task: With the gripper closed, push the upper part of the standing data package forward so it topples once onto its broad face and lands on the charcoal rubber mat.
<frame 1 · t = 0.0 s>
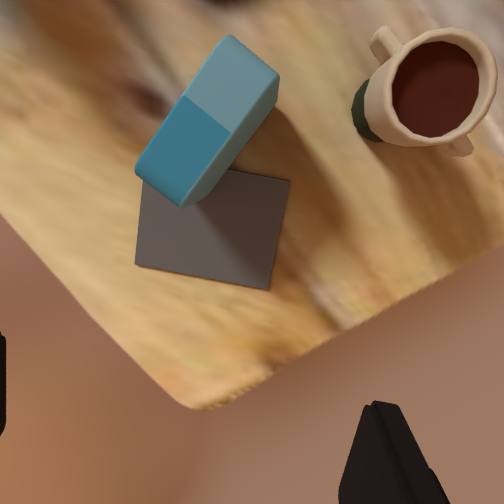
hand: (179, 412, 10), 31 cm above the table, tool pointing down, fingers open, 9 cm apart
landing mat: (209, 223, 40), on the table
character mug: (382, 109, 36), on the table
data package: (223, 137, 38), on the table, touching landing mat
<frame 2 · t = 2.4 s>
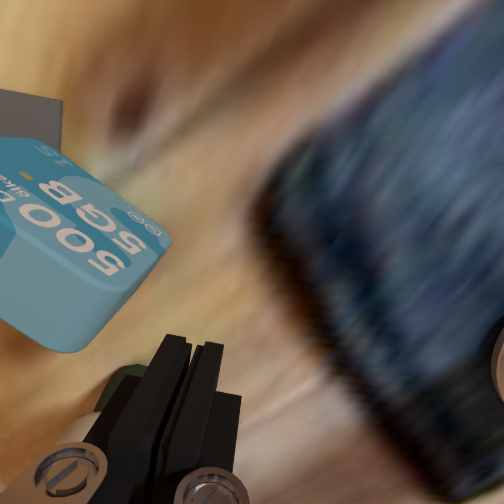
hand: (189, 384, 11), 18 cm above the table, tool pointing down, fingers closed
character mug: (146, 390, 33), on the table
data package: (96, 212, 28), on the table, touching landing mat
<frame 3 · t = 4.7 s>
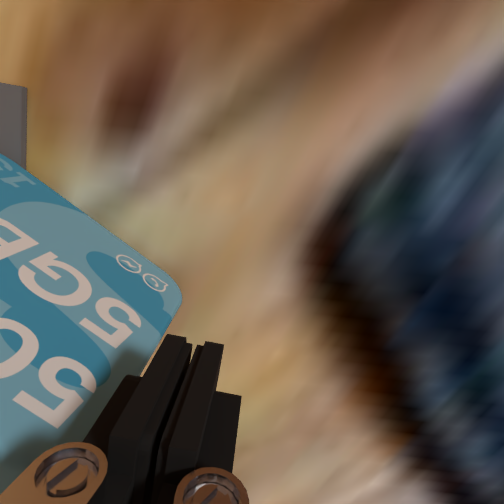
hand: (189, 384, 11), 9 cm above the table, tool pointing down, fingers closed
data package: (72, 250, 19), on the table, touching gripper
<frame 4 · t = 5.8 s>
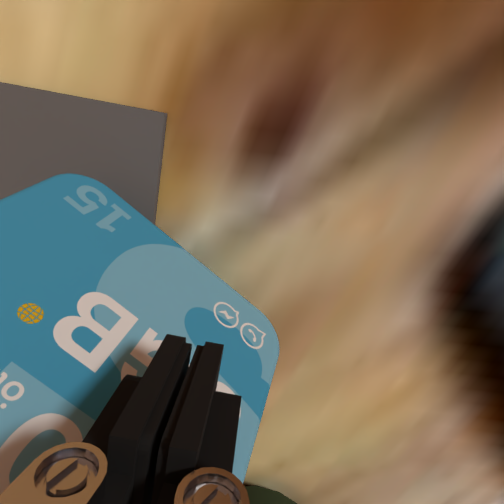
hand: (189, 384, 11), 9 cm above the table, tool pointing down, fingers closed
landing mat: (35, 244, 19), on the table
data package: (167, 275, 18), point 1 cm above the table, touching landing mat
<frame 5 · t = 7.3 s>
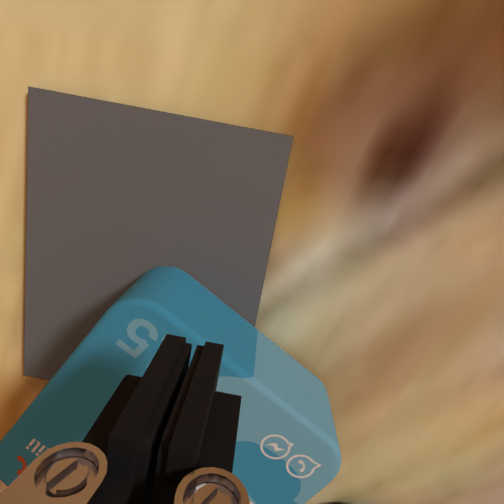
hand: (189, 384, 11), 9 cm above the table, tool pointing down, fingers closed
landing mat: (146, 266, 19), on the table
data package: (255, 345, 17), point 3 cm above the table, touching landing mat
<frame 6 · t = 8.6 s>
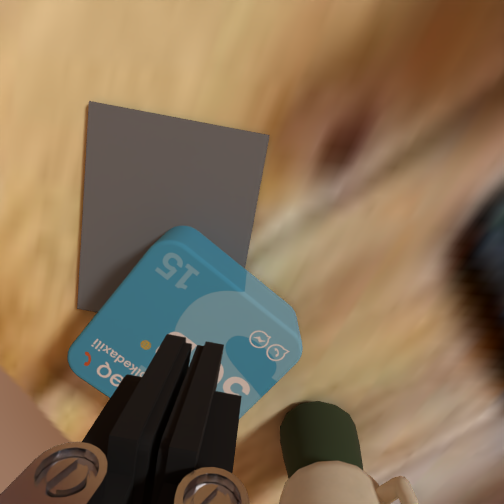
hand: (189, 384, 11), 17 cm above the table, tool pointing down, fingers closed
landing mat: (168, 226, 27), on the table
character mug: (316, 425, 32), on the table
data package: (245, 276, 25), point 3 cm above the table, touching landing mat
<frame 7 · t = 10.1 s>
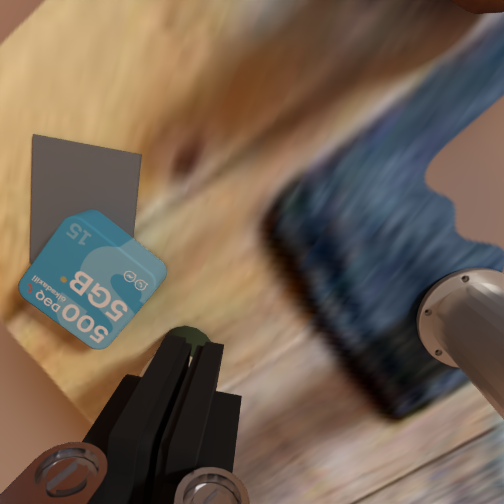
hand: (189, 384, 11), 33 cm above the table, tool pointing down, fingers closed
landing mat: (84, 210, 44), on the table
character mug: (189, 344, 48), on the table
data package: (126, 240, 41), point 3 cm above the table, touching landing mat
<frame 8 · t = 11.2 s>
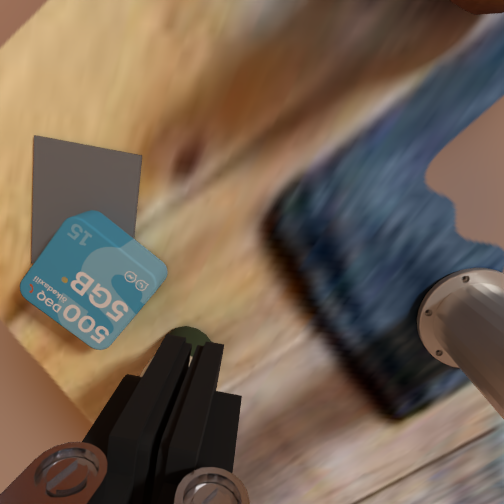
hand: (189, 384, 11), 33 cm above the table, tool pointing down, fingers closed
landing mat: (85, 211, 44), on the table
character mug: (189, 345, 48), on the table
data package: (126, 240, 42), point 3 cm above the table, touching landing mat
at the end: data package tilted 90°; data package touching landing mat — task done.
